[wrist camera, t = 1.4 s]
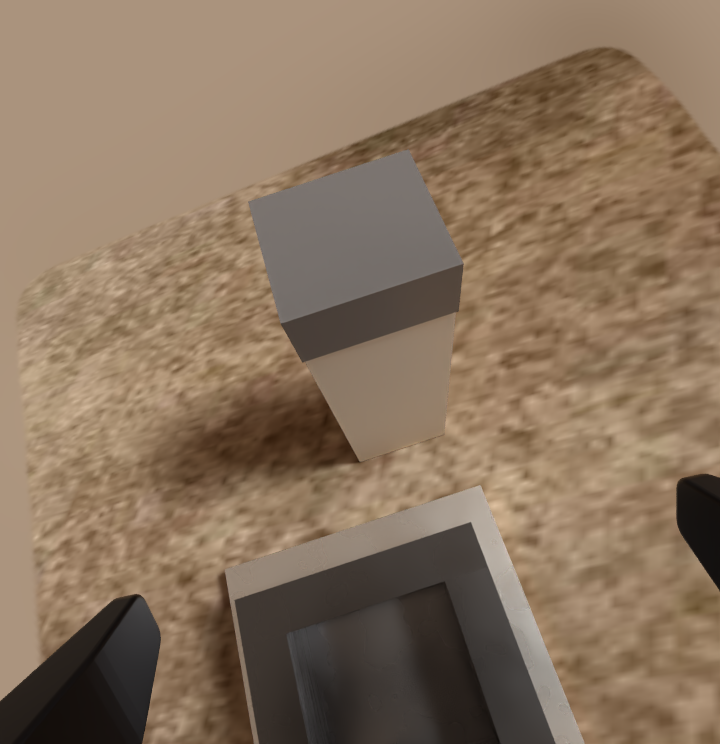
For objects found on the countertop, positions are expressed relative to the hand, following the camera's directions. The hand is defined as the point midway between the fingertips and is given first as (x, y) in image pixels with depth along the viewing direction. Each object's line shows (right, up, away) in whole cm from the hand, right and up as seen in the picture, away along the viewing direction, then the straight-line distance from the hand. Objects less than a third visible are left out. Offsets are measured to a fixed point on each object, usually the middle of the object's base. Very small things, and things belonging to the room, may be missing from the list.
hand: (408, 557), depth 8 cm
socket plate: (+1, -8, +11) cm, 14 cm away
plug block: (+1, +1, +15) cm, 15 cm away
